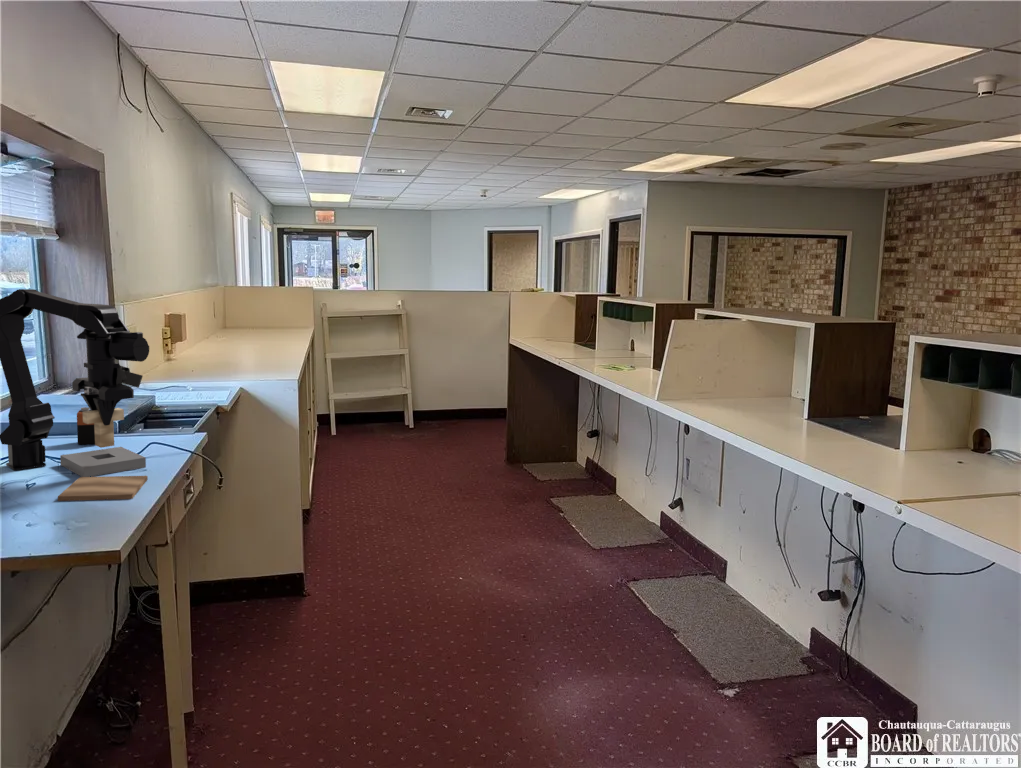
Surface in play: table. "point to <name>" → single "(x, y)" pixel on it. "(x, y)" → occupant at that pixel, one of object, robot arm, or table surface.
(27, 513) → the table surface
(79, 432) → the battery
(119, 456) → the keyhole plate
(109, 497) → the walnut pad
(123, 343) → the robot arm
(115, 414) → the t key
